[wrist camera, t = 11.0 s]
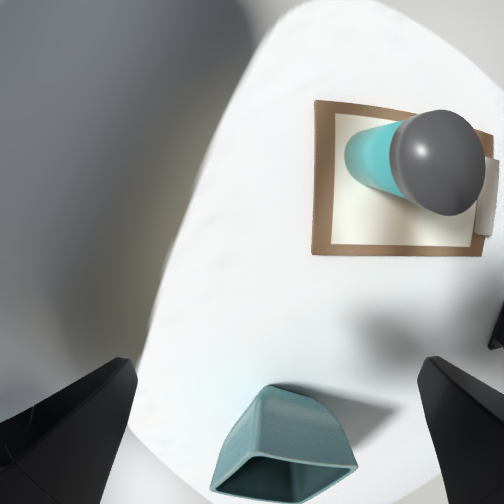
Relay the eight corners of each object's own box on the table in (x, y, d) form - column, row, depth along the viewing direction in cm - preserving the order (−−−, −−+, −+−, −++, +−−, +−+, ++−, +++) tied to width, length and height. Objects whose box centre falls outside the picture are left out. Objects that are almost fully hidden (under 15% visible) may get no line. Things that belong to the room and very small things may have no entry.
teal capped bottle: (397, 132, 16) (485, 122, 7) (396, 189, 17) (481, 219, 8) (342, 125, 16) (404, 100, 7) (341, 185, 17) (402, 212, 9)
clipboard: (488, 135, 15) (499, 135, 14) (477, 253, 19) (486, 259, 17) (314, 101, 16) (318, 97, 15) (311, 252, 19) (314, 259, 18)
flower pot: (343, 388, 24) (362, 468, 15) (296, 437, 26) (299, 506, 18) (257, 361, 23) (251, 451, 14) (220, 416, 26) (207, 490, 17)
